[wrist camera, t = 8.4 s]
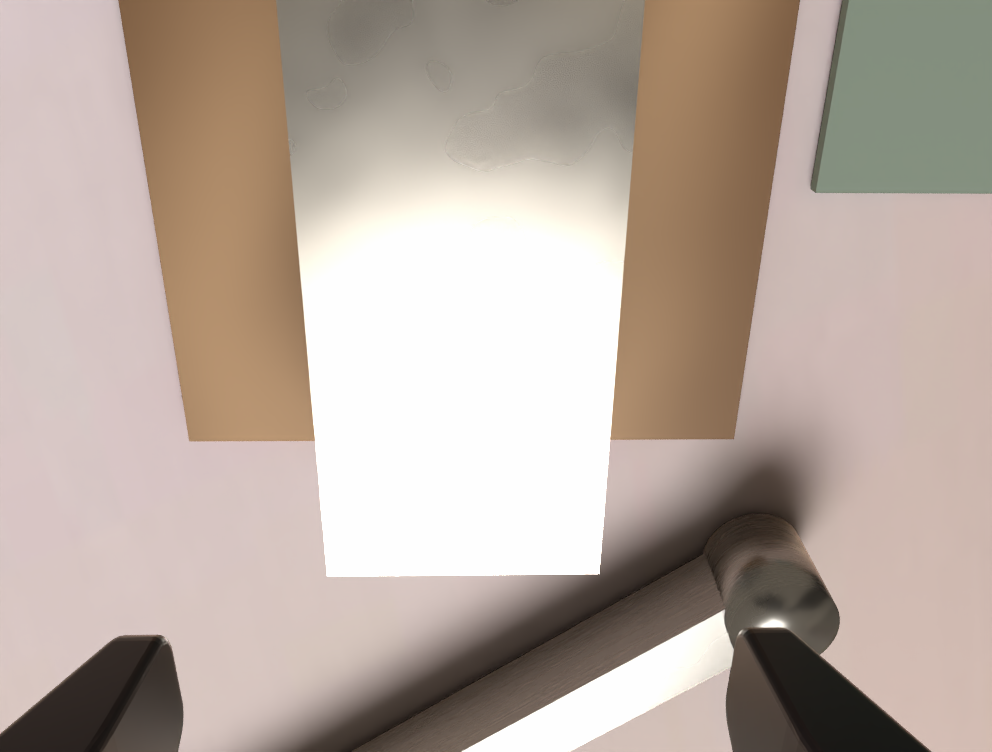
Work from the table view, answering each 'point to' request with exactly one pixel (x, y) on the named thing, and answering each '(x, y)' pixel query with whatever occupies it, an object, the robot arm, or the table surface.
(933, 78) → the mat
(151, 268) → the table surface
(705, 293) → the plate
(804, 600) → the lever
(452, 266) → the stone-textured block
